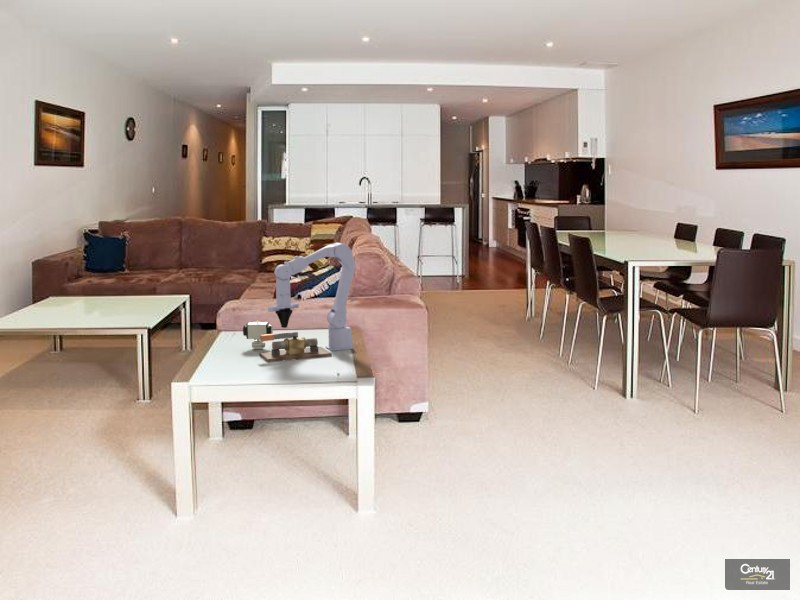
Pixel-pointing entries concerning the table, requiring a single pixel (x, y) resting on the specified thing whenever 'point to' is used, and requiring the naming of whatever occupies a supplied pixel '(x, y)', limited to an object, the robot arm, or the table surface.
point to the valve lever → (278, 336)
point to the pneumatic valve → (257, 332)
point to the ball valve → (294, 350)
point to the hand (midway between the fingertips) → (284, 327)
